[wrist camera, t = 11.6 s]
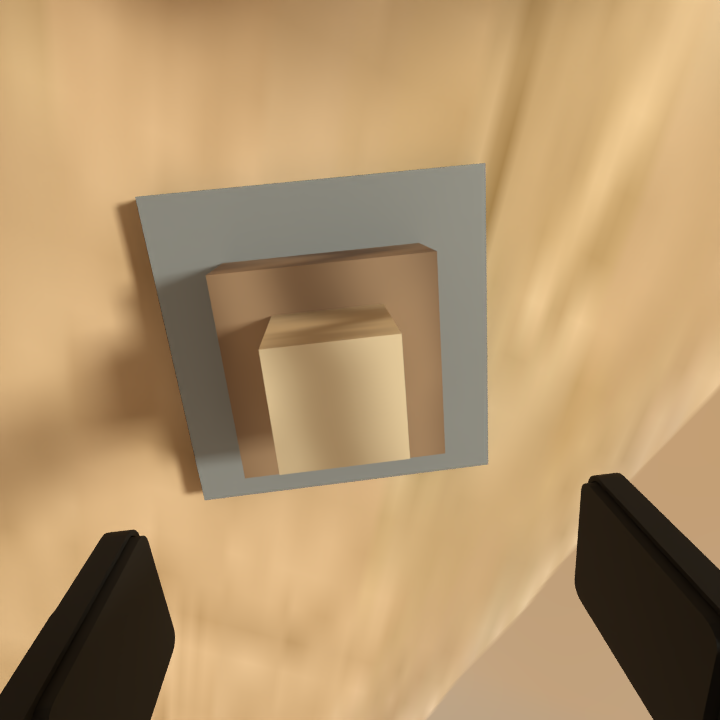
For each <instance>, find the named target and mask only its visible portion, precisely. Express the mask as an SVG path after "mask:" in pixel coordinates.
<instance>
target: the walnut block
mask: <svg viewBox="0 0 720 720" xmlns="http://www.w3.org/2000/svg"><path fill="white" fill-rule="evenodd" d="M206 280H207V285H208V291H209V296H210V301H211V306H212V311H213V316H214V321H215V327H216V332H217V337H218V342H219V347H220V352H221V357H222V363H223V368H224V373H225V378H226V383H227V388H228V393H229V399H230V404H231V409H232V414H233V419H234V424H235V429H236V434H237V440H238V445H239V450H240V455H241V460H242V465H243V470H244V476H245V478H253V477H261V476H269V475H277V474H279V469H278V463H277V457H276V451H275V445H274V439H273V433H272V427H271V421H270V415H269V409H268V403H267V397H266V391H265V385H264V379H263V373H262V367H261V361H260V355H259V347H260V345H261V342H262V339H263V337H264V334H265V331H266V329H267V326H268V324H269V321H270V318H271V316H276V315H285V314H295V313H304V312H313V311H322V310H331V309H340V308H350V307H359V306H368V305H377V304H384V305H385V307H386V309H387V310H388V312H389V314H390V315H391V317H392V319H393V320H394V322H395V324H396V325H397V327H398V328H399V330H400V332H401V333H402V346H403V361H404V376H405V391H406V406H407V420H408V435H409V450H410V458H413V457H421V456H429V455H437V454H445V434H444V409H443V385H442V361H441V336H440V312H439V287H438V263H437V251H435V250H433V249H431V248H429V247H427V246H425V245H423V244H420V243H413V244H403V245H393V246H384V247H374V248H364V249H355V250H345V251H335V252H326V253H316V254H306V255H297V256H287V257H278V258H268V259H258V260H249V261H239V262H229V263H222V264H221V265H219V266H218V267H217V268H215V269H214V270H213V271H211V272H210V273H208V274H207V275H206Z"/></svg>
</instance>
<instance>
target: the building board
mask: <svg viewBox="0 0 720 720" xmlns="http://www.w3.org/2000/svg"><path fill="white" fill-rule="evenodd" d="M135 198H136V202H137V207H138V211H139V216H140V220H141V224H142V229H143V233H144V237H145V242H146V246H147V250H148V255H149V259H150V263H151V268H152V272H153V277H154V281H155V285H156V290H157V294H158V298H159V303H160V307H161V311H162V316H163V320H164V325H165V329H166V333H167V338H168V342H169V346H170V351H171V355H172V359H173V364H174V368H175V373H176V377H177V381H178V386H179V390H180V394H181V399H182V403H183V407H184V412H185V416H186V420H187V425H188V429H189V434H190V438H191V442H192V447H193V451H194V455H195V460H196V464H197V468H198V473H199V477H200V482H201V486H202V490H203V495H204V499H205V500H211V499H219V498H226V497H234V496H242V495H250V494H258V493H266V492H274V491H282V490H290V489H298V488H305V487H313V486H321V485H329V484H337V483H345V482H353V481H361V480H369V479H377V478H384V477H392V476H400V475H408V474H416V473H424V472H432V471H440V470H448V469H456V468H464V467H471V466H479V465H487V464H488V398H487V288H486V178H485V163H481V164H471V165H461V166H450V167H440V168H430V169H419V170H409V171H399V172H388V173H378V174H368V175H357V176H347V177H336V178H326V179H316V180H305V181H295V182H285V183H274V184H264V185H254V186H243V187H233V188H223V189H212V190H202V191H192V192H181V193H171V194H160V195H150V196H140V197H135ZM413 243H420V244H423V245H425V246H427V247H429V248H431V249H433V250H435V251H437V263H438V287H439V312H440V336H441V361H442V385H443V409H444V434H445V454H437V455H429V456H421V457H413V458H410V459H404V460H396V461H388V462H380V463H372V464H364V465H356V466H348V467H340V468H332V469H324V470H316V471H308V472H300V473H292V474H284V475H279V474H277V475H269V476H261V477H253V478H245V476H244V470H243V465H242V460H241V455H240V450H239V445H238V440H237V434H236V429H235V424H234V419H233V414H232V409H231V404H230V399H229V393H228V388H227V383H226V378H225V373H224V368H223V363H222V357H221V352H220V347H219V342H218V337H217V332H216V327H215V321H214V316H213V311H212V306H211V301H210V296H209V291H208V285H207V280H206V275H207V274H208V273H210V272H211V271H213V270H214V269H215V268H217V267H218V266H219V265H221V264H222V263H229V262H239V261H249V260H258V259H268V258H278V257H287V256H297V255H306V254H316V253H326V252H335V251H345V250H355V249H364V248H374V247H384V246H393V245H403V244H413Z"/></svg>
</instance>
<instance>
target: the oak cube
mask: <svg viewBox="0 0 720 720" xmlns="http://www.w3.org/2000/svg"><path fill="white" fill-rule="evenodd" d="M259 355H260V361H261V367H262V373H263V379H264V385H265V391H266V397H267V403H268V409H269V415H270V421H271V427H272V433H273V439H274V445H275V451H276V457H277V463H278V469H279V475H284V474H292V473H300V472H308V471H316V470H324V469H332V468H340V467H348V466H356V465H364V464H372V463H380V462H388V461H396V460H404V459H410V450H409V435H408V420H407V406H406V391H405V376H404V361H403V346H402V333H401V332H400V330H399V328H398V327H397V325H396V324H395V322H394V320H393V319H392V317H391V315H390V314H389V312H388V310H387V309H386V307H385V305H384V304H377V305H368V306H359V307H350V308H340V309H331V310H322V311H313V312H304V313H295V314H285V315H276V316H271V318H270V321H269V324H268V326H267V329H266V331H265V334H264V337H263V339H262V342H261V345H260V347H259Z"/></svg>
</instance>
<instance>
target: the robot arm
mask: <svg viewBox="0 0 720 720" xmlns="http://www.w3.org/2000/svg"><path fill="white" fill-rule="evenodd" d="M575 588H576V591H577V594H578V596H579V599H580V600H581V602H582V604H583V605H584V607H585V609H586V610H587V612H588V614H589V615H590V617H591V618H592V620H593V622H594V623H595V625H596V627H597V628H598V630H599V631H600V633H601V635H602V636H603V638H604V640H605V641H606V643H607V645H608V646H609V648H610V649H611V651H612V653H613V654H614V656H615V658H616V659H617V661H618V663H619V664H620V666H621V667H622V669H623V670H624V672H625V674H626V676H627V677H628V679H629V680H630V682H631V684H632V685H633V687H634V689H635V690H636V692H637V694H638V695H639V697H640V698H641V700H642V702H643V703H644V705H645V706H646V708H647V710H648V711H649V713H650V715H651V716H652V718H653V720H720V570H719V569H718V568H717V567H716V566H715V565H714V564H713V563H712V562H711V561H710V560H709V559H708V558H707V557H706V556H705V555H704V554H703V553H702V552H701V551H700V550H699V549H698V548H697V547H696V546H695V545H694V544H693V543H692V542H691V541H690V540H689V539H688V538H687V537H685V536H684V535H683V534H682V533H681V532H680V531H679V530H678V529H677V528H676V527H675V526H674V525H673V524H672V523H671V522H670V521H669V520H668V519H667V518H666V517H665V516H664V515H663V514H662V513H661V512H660V511H659V510H658V509H657V508H656V507H655V506H654V505H653V504H652V503H651V502H650V501H649V500H648V499H647V498H646V497H645V496H644V495H643V494H641V493H640V491H638V490H637V489H636V488H635V487H634V486H633V485H632V484H631V483H630V482H629V481H628V480H627V479H626V478H625V477H624V476H623V475H622V474H620V473H612V474H603V475H595V476H591V477H590V479H589V481H588V483H586V484H583V486H582V489H581V500H580V514H579V528H578V541H577V556H576V569H575ZM174 644H175V632H174V628H173V624H172V621H171V617H170V614H169V611H168V607H167V604H166V600H165V597H164V593H163V590H162V587H161V583H160V580H159V576H158V573H157V570H156V566H155V563H154V559H153V556H152V553H151V549H150V546H149V542H148V540H147V538H146V537H145V536H139V534H138V532H137V531H136V530H127V531H118V532H110V533H106V534H104V535H103V536H102V538H101V539H100V541H99V542H98V544H97V546H96V547H95V549H94V550H93V552H92V553H91V555H90V557H89V558H88V560H87V561H86V563H85V564H84V566H83V568H82V569H81V571H80V572H79V574H78V575H77V577H76V579H75V580H74V582H73V583H72V585H71V586H70V588H69V590H68V591H67V593H66V594H65V596H64V597H63V599H62V601H61V602H60V604H59V605H58V607H57V608H56V610H55V611H54V612H53V613H52V615H51V616H50V617H49V619H48V620H47V622H46V624H45V625H44V627H43V628H42V630H41V631H40V633H39V635H38V636H37V638H36V639H35V641H34V642H33V644H32V646H31V647H30V649H29V650H28V652H27V653H26V655H25V656H24V658H23V660H22V661H21V663H20V664H19V666H18V667H17V669H16V671H15V672H14V674H13V675H12V677H11V678H10V680H9V682H8V683H7V685H6V686H5V688H4V689H3V691H2V692H1V694H0V720H151V717H152V714H153V711H154V708H155V705H156V702H157V698H158V695H159V692H160V689H161V686H162V683H163V680H164V677H165V674H166V671H167V668H168V665H169V662H170V659H171V656H172V653H173V649H174Z"/></svg>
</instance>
